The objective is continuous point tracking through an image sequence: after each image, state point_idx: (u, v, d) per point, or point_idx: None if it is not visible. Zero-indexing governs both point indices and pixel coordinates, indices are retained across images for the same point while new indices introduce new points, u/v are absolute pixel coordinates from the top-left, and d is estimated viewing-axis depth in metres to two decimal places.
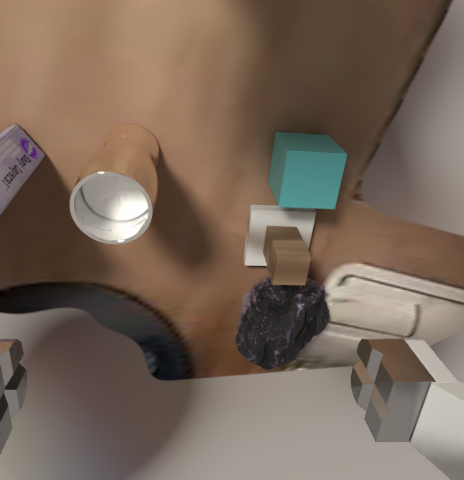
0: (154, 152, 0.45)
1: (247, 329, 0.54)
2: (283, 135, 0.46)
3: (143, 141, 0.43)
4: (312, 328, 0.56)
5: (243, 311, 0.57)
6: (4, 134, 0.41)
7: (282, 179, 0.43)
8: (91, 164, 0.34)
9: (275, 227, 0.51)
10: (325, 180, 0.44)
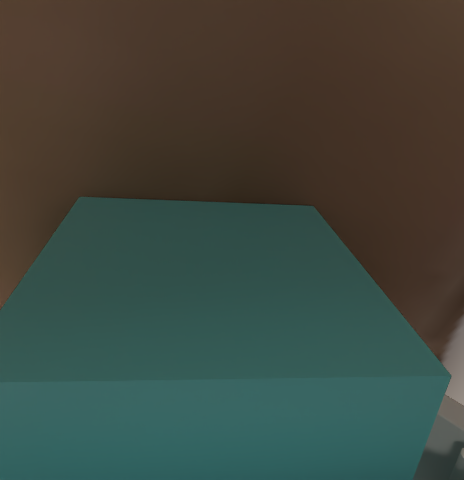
0: None
1: None
2: (95, 216, 0.10)
3: None
4: None
5: None
6: None
7: None
8: None
9: None
10: None
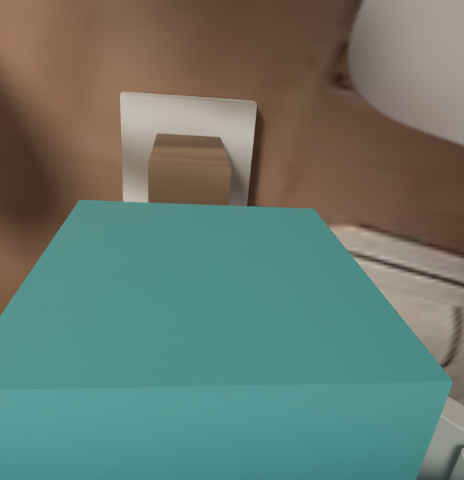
0: None
1: None
2: (95, 220, 0.10)
3: None
4: None
5: None
6: None
7: None
8: None
9: (174, 135, 0.25)
10: None
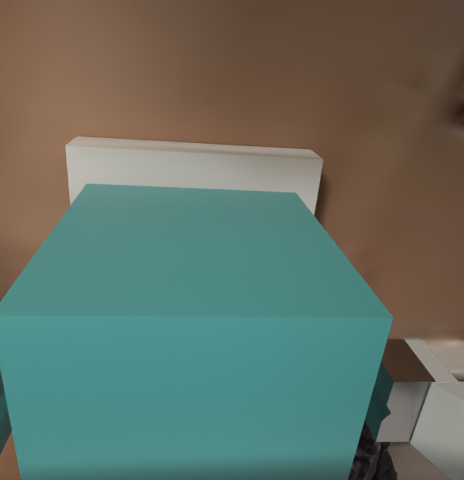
0: None
1: None
2: (101, 199, 0.11)
3: None
4: None
5: None
6: None
7: None
8: None
9: None
10: (270, 449, 0.08)
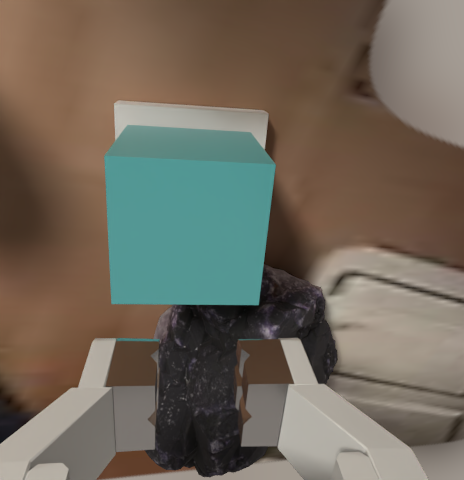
0: None
1: None
2: (138, 130, 0.20)
3: None
4: None
5: None
6: None
7: None
8: None
9: None
10: (224, 235, 0.17)
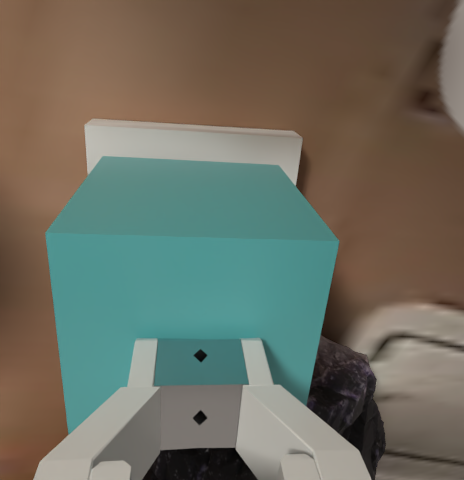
0: None
1: None
2: (116, 166, 0.13)
3: None
4: None
5: None
6: None
7: None
8: None
9: None
10: None
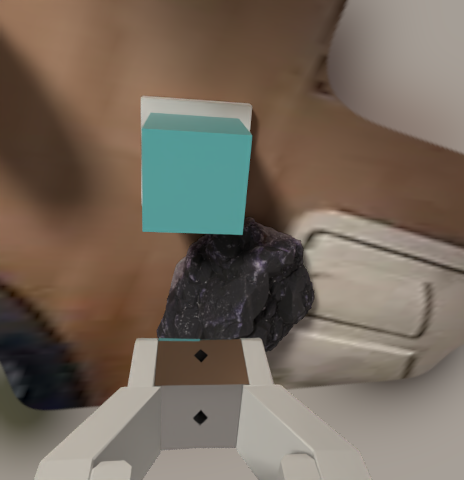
0: None
1: (173, 311, 0.33)
2: (159, 115, 0.28)
3: None
4: (286, 309, 0.34)
5: (172, 285, 0.35)
6: None
7: None
8: None
9: None
10: (219, 184, 0.25)
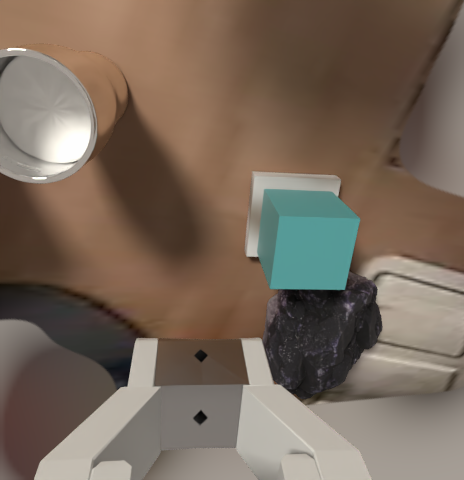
0: (118, 87, 0.32)
1: (276, 342, 0.40)
2: (274, 193, 0.36)
3: (101, 66, 0.31)
4: (364, 339, 0.42)
5: (269, 319, 0.43)
6: None
7: (273, 253, 0.32)
8: None
9: None
10: (331, 253, 0.32)
